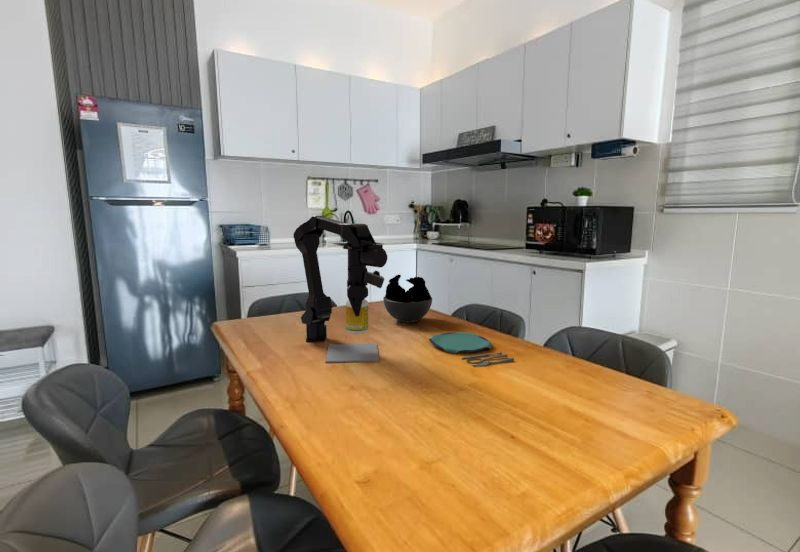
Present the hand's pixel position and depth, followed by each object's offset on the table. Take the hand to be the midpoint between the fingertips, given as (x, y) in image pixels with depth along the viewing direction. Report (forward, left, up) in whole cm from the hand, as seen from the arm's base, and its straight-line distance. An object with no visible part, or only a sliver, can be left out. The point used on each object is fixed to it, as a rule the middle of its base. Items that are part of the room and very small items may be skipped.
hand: (356, 313), depth 134 cm
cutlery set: (+36, 0, -14) cm, 39 cm away
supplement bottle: (0, 0, -6) cm, 6 cm away
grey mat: (-1, -1, -13) cm, 13 cm away
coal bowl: (+21, +37, -13) cm, 44 cm away
